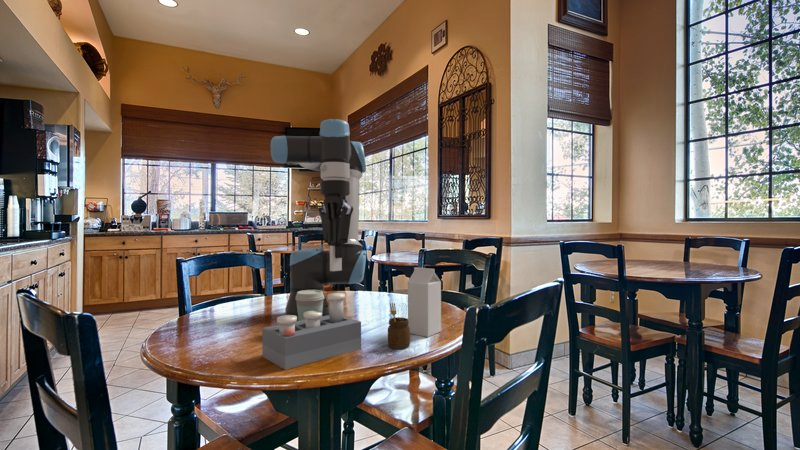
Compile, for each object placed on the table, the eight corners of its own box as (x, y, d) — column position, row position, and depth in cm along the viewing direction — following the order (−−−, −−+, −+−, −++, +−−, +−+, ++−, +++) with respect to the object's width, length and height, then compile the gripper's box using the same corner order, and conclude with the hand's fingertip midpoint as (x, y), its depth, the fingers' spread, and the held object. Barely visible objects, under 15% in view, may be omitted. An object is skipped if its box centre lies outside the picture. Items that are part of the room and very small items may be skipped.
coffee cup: (318, 336, 114) (317, 294, 114) (290, 335, 116) (289, 294, 116) (329, 328, 122) (328, 289, 122) (303, 327, 124) (302, 288, 124)
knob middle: (300, 340, 101) (300, 312, 101) (316, 336, 104) (316, 309, 104) (309, 344, 97) (309, 315, 97) (325, 340, 100) (325, 312, 100)
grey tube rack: (262, 356, 98) (262, 323, 98) (335, 338, 112) (335, 309, 112) (285, 369, 89) (285, 333, 89) (361, 348, 103) (361, 317, 103)
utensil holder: (414, 344, 107) (414, 299, 106) (402, 351, 101) (402, 304, 101) (395, 341, 110) (395, 297, 109) (382, 347, 104) (382, 301, 104)
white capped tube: (273, 346, 96) (273, 317, 96) (291, 342, 99) (291, 314, 99) (282, 351, 93) (282, 320, 92) (300, 346, 96) (300, 317, 96)
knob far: (324, 321, 105) (324, 294, 105) (338, 318, 108) (338, 292, 108) (333, 324, 102) (333, 296, 102) (348, 321, 105) (348, 294, 105)
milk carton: (428, 337, 113) (427, 270, 113) (407, 333, 117) (407, 268, 117) (441, 331, 118) (441, 267, 118) (421, 328, 123) (421, 266, 122)
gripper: (309, 181, 107) (310, 269, 107) (337, 177, 97) (337, 274, 98) (333, 183, 112) (334, 267, 112) (361, 179, 102) (362, 271, 103)
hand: (335, 270), depth 105 cm, fingers closed
